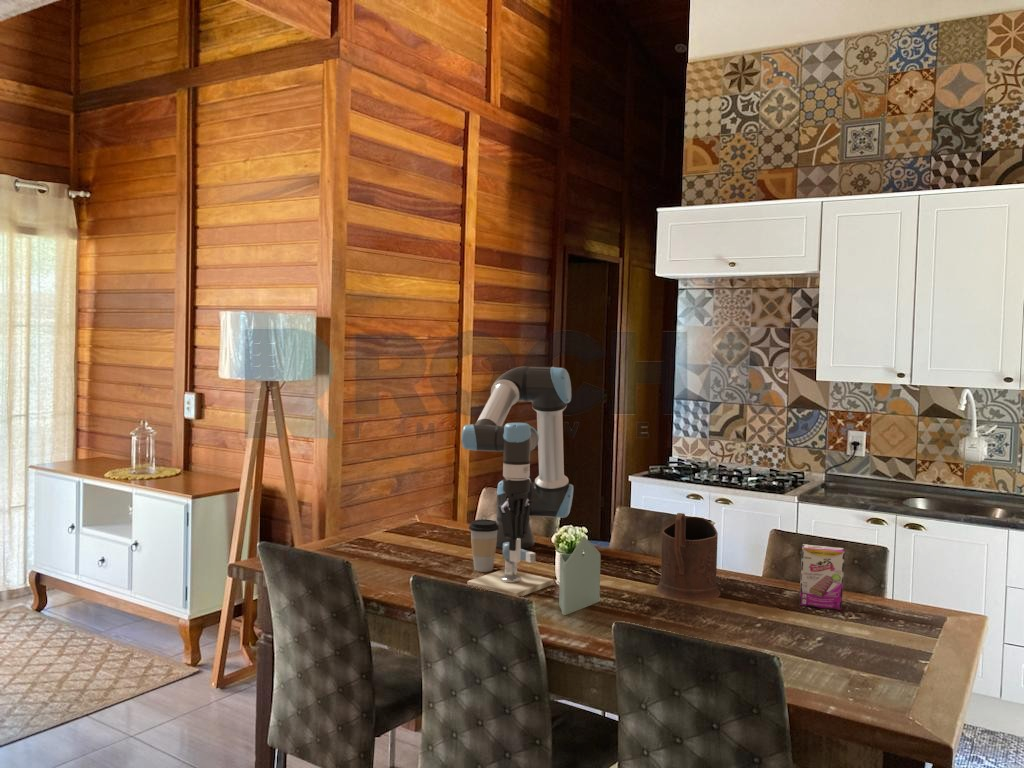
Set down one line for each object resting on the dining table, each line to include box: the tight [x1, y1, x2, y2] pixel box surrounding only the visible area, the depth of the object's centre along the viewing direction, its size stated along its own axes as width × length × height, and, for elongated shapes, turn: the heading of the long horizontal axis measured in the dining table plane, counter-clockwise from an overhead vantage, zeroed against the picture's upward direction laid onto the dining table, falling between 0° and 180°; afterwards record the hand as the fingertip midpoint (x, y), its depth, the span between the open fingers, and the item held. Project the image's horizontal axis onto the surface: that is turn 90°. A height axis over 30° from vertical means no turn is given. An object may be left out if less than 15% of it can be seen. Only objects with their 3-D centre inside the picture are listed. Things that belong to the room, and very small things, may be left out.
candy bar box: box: [799, 543, 845, 611], centre depth 239 cm, size 11×5×16 cm, turn 71°
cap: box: [502, 542, 536, 563], centre depth 250 cm, size 12×5×4 cm, turn 38°
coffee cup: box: [468, 518, 499, 573], centre depth 270 cm, size 9×9×15 cm
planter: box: [558, 535, 601, 616], centre depth 235 cm, size 16×8×20 cm, turn 140°
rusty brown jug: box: [655, 512, 722, 602], centre depth 248 cm, size 18×24×25 cm
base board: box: [466, 568, 554, 597], centre depth 254 cm, size 18×18×2 cm
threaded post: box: [500, 559, 521, 583], centre depth 253 cm, size 6×6×6 cm
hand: (515, 561), depth 243 cm, fingers closed
